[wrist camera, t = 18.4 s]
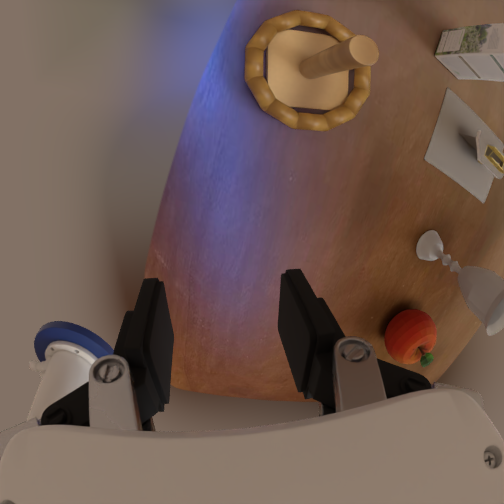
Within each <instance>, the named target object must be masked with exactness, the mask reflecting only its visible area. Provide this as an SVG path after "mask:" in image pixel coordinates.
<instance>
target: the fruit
mask: <svg viewBox="0 0 504 504" xmlns="http://www.w3.org/2000/svg"><path fill="white" fill-rule="evenodd" d="M436 336H437V332H436V326H435V324H434V322H433V320H432V319H431V317H430V316H429V315H428V314H426V313H425V312H423V311H420V310H417V309H408V310H404V311H402V312H400V313H399V314H397V315H396V316H395V317H394V318H393V319H392V320H391V321H390V322H389V324H388V326H387V328H386V332H385V337H384V339H385V346H386V349H387V351H388V353H389V354H390V356H391V357H392V358H393V359H395V360H396V361H398V362H400V363H404V364H413V363H415V362H417V361H419V360H420V362H421V365H422V366H423V367H425V366H427V365H429V364H430V363H431V362H432V361H433V355H432V354H431V353H429V352H430V351H431V350H432V348H433V347H434V345H435V342H436Z"/></svg>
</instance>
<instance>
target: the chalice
mask: <svg viewBox="0 0 504 504" xmlns="http://www.w3.org/2000/svg"><path fill="white" fill-rule="evenodd" d="M416 253H417V256H418V257H419V258H420V259H425V260H429V261H433V260H436V259H438V258H441V260H442V263H443V265H449V266H450V269H451V271H455V272H457V273H458V274H459V275H458V283H459V286H460V289H461V292H462V295H463V297H464V300H465V302H466V304H467V306H468V308H469V309H470V310H471V311H472V312H473V313H474V314H475V315H476V316H477V317H478V318H479V319H480V320H481V321H482V323H483V324H484V325H485V327H486V331H487V334H488V335H494V334H496V333H498V332H499V331H500V330H501V329H502V328H503V327H504V280H503V279H502V278H501V277H500V276H499V275H497V274H496V273H495V272H494V271H491V270H488V269H485V268H481V267H474V266H466V267H464V268H463V269H462V268H460V266H459V265H458V262H457V261H452V260H451V256H450V255H449V254H448V255H445V254H443V243H442V241H441V239H440V237H439V235H438V233H437V232H436V231H434V230H430V231H427V232H425V233H424V234H423V235H422V236H421V238H420V239H419V241H418V243H417V247H416Z"/></svg>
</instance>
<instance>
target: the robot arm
mask: <svg viewBox="0 0 504 504" xmlns="http://www.w3.org/2000/svg"><path fill="white" fill-rule="evenodd" d="M278 331H279V335H280V338H281V341H282V344H283V347H284V350H285V353H286V356H287V359H288V362H289V365H290V368H291V372H292V375H293V378H294V381H295V384H296V387H297V390H298V392H303V394H304V397H305V399H309V398H313V399H315V400H317V401H319V417H315V418H309V419H304V420H298V421H293V422H287V423H280V424H274V425H266V426H259V427H249V428H240V429H229V430H214V431H189V432H157V431H155V427H154V423H153V419H152V416H154V415H155V414H156V413H157V412H158V411H159V412H163V411H164V404H168V403H169V396H170V381H171V367H172V354H173V343H174V334H173V328H172V324H171V319H170V314H169V309H168V304H167V298H166V293H165V287H164V283H163V281H159V280H158V278H147V279H144V280H143V283H142V287H141V289H140V293H139V296H138V299H137V302H136V306H135V309H134V311H127V312H126V314H125V316H124V320H123V323H122V326H121V329H120V332H119V335H118V339H117V342H116V345H115V349H114V352H113V355H106V356H103V357H101V358H99V359H98V358H97V357H96V356H95V355H93V354H92V353H91V352H90V351H88V350H87V349H85V348H83V347H82V346H80V345H77V344H75V343H72V342H68V341H54V342H52V343H50V344H49V345H48V347H47V349H46V351H45V358H46V361H42V362H37V361H30V363H29V368H30V369H31V370H33V371H41V372H40V377H41V378H42V381H41V383H40V386H39V388H38V391H37V393H36V396H35V398H34V401H33V404H32V406H31V409H30V412H29V415H28V417H27V420H26V422H23V423H21V424H18V425H16V426H14V427H11V428H9V429H6V430H4V431H2V432H0V504H504V440H503V439H502V437H501V435H500V434H499V432H498V431H497V429H496V428H495V426H494V424H493V423H492V421H491V420H490V419H489V417H488V416H487V415H486V413H485V412H484V401H483V398H482V397H481V395H480V394H479V393H478V392H477V391H475V390H472V389H468V388H462V387H457V386H451V385H447V384H442V383H437V382H434V383H433V385H431V384H430V382H429V381H428V380H427V379H426V378H425V377H424V376H422V375H420V374H418V373H415V372H413V371H410V370H407V369H404V368H401V367H399V366H396V365H393V364H390V363H388V362H385V361H382V360H380V359H377V358H376V355H375V351H374V349H373V347H372V345H371V344H370V343H369V342H368V341H366V340H365V339H363V338H360V337H355V336H348V337H345V335H344V333H343V332H342V330H341V328H340V326H339V325H338V323H337V321H336V319H335V318H334V316H333V314H332V313H331V311H330V309H329V307H328V306H327V304H326V302H325V301H324V299H323V298H317V297H316V295H315V294H314V292H313V290H312V288H311V287H310V285H309V283H308V281H307V279H306V278H305V276H304V274H303V272H302V271H301V269H290V270H286V273H284V274H282V275H281V286H280V301H279V315H278Z"/></svg>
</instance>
